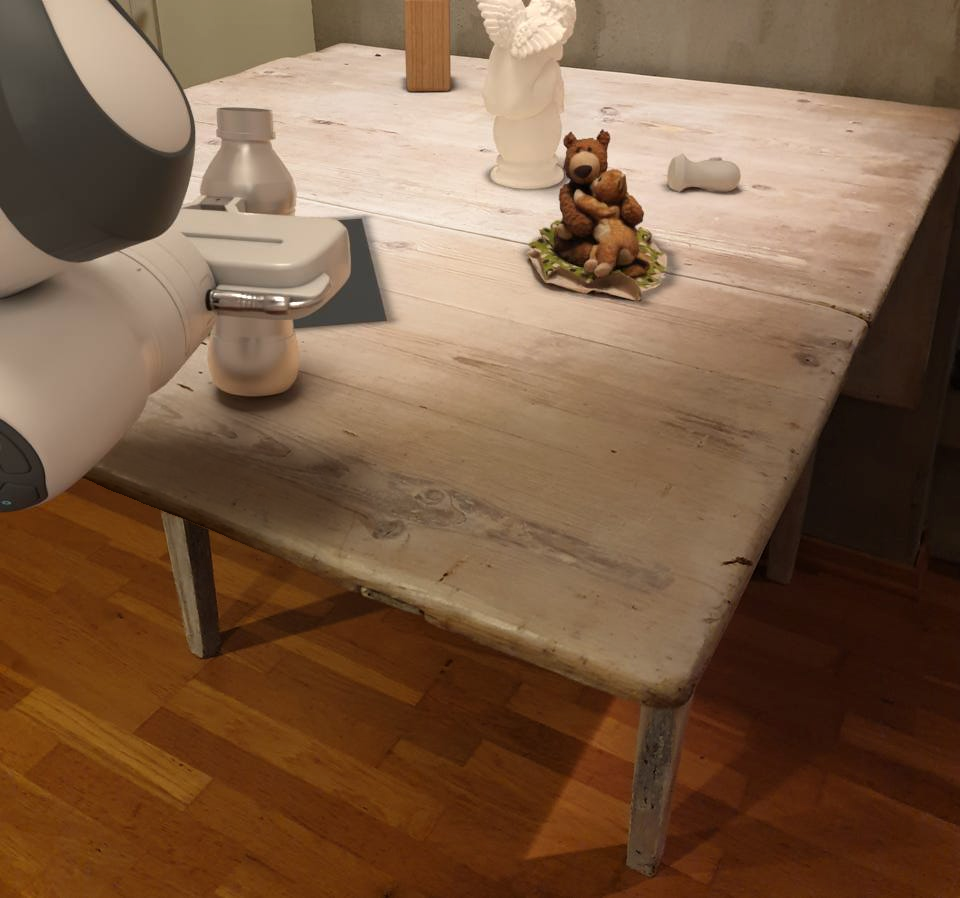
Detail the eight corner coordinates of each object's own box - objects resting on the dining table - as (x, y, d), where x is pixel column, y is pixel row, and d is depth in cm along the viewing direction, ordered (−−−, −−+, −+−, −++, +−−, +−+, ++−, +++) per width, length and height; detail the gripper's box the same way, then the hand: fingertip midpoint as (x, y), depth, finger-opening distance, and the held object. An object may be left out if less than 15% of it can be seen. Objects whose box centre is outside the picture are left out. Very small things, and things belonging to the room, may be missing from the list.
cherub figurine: (553, 163, 118) (562, -37, 106) (601, 196, 109) (618, -19, 96) (460, 175, 114) (459, -30, 102) (502, 211, 105) (506, -11, 92)
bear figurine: (514, 297, 87) (518, 163, 80) (537, 234, 99) (541, 113, 92) (668, 310, 85) (685, 173, 78) (671, 244, 97) (686, 121, 90)
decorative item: (449, 81, 151) (447, -63, 140) (450, 92, 145) (449, -57, 134) (406, 81, 150) (401, -63, 139) (406, 92, 145) (401, -57, 134)
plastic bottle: (239, 372, 76) (227, 104, 68) (316, 386, 74) (312, 111, 66) (191, 397, 70) (171, 107, 63) (273, 412, 69) (263, 115, 61)
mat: (169, 344, 80) (168, 338, 79) (186, 234, 99) (185, 229, 99) (387, 325, 82) (387, 320, 82) (362, 222, 102) (361, 218, 102)
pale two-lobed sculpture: (733, 196, 112) (740, 198, 107) (663, 191, 113) (667, 193, 108) (738, 157, 111) (745, 157, 106) (668, 153, 112) (672, 152, 107)
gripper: (308, 257, 50) (375, 169, 61) (-58, 230, 52) (71, 151, 63) (319, 364, 53) (380, 263, 64) (-24, 334, 56) (93, 242, 67)
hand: (225, 207), depth 64 cm, fingers closed
